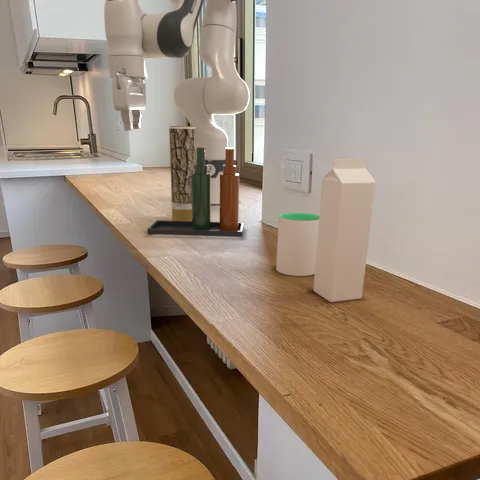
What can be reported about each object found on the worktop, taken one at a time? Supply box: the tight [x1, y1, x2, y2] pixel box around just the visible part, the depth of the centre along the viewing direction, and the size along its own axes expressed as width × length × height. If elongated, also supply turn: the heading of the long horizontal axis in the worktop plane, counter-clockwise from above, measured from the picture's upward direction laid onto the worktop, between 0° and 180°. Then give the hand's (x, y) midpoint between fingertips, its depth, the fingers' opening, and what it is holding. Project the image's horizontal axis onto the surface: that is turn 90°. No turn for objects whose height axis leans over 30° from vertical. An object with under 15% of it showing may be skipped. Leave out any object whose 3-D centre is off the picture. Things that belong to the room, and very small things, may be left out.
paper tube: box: [168, 125, 196, 221], centre depth 133 cm, size 7×7×25 cm
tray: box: [146, 219, 245, 238], centre depth 126 cm, size 11×23×2 cm, turn 88°
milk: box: [312, 158, 377, 303], centre depth 79 cm, size 6×6×22 cm
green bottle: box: [191, 147, 212, 230], centre depth 122 cm, size 5×5×20 cm
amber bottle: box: [218, 147, 240, 231], centre depth 122 cm, size 5×5×20 cm
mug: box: [275, 212, 319, 277], centre depth 96 cm, size 12×8×10 cm, turn 109°
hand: (132, 129), depth 129 cm, fingers open, 8 cm apart
